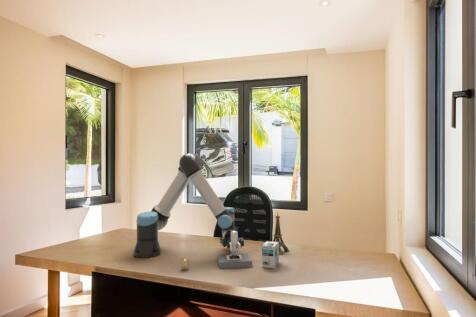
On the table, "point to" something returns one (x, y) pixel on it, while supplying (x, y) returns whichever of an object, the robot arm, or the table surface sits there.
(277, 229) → the eiffel tower
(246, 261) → the flat grey box
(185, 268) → the brass pin
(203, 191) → the robot arm
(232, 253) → the steel pin
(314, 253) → the table surface
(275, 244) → the light bulb box
